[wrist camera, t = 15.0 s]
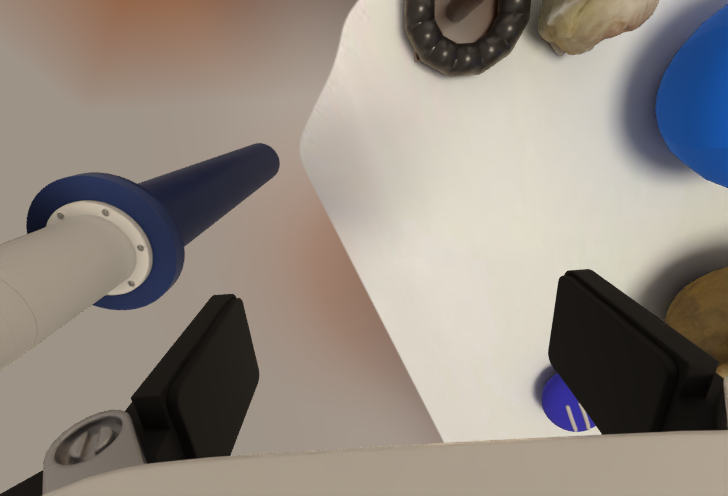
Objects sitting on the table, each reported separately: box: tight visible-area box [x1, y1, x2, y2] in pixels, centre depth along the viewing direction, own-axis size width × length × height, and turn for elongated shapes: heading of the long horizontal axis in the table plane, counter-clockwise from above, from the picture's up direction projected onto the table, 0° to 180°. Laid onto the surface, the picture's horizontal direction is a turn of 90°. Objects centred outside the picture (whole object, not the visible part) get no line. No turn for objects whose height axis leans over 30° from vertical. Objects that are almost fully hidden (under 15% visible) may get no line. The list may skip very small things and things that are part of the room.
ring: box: [404, 0, 531, 77], centre depth 33 cm, size 12×12×3 cm
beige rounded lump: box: [538, 0, 659, 56], centre depth 31 cm, size 9×8×10 cm
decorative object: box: [542, 373, 596, 432], centre depth 50 cm, size 10×6×10 cm
